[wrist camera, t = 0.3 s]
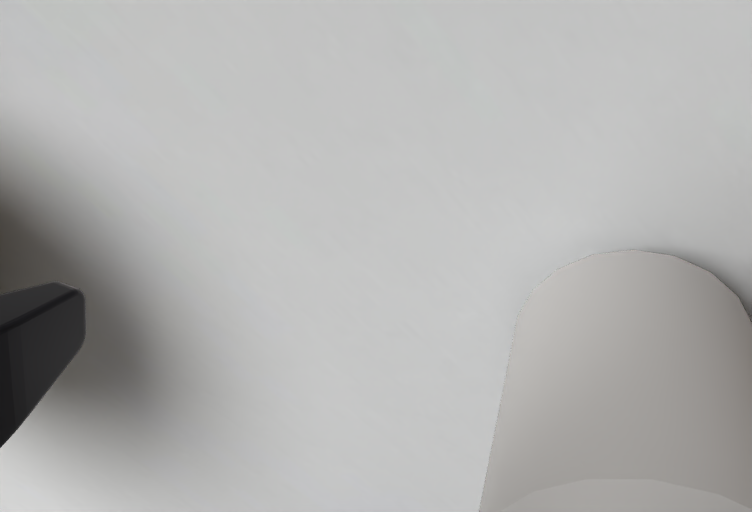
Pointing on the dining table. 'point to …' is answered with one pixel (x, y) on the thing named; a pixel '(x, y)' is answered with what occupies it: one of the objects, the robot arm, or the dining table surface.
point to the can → (626, 393)
